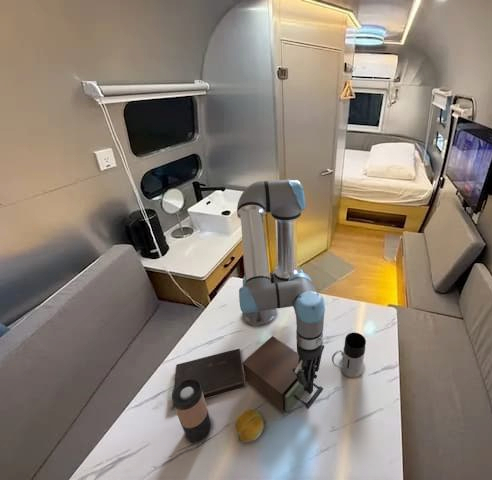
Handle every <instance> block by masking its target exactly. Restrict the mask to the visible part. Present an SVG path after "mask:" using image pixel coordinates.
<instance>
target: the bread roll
mask: <svg viewBox="0 0 492 480" xmlns="http://www.w3.org/2000/svg"><path fill="white" fill-rule="evenodd" d="M234 423H235V424H234V428H235V432H236V434H238V436H239V440H240V441H241V442H243V443H250V442H254V441H257V440H258V438H260V436H261V434H263V433H262V432H263V431H264V425H265V424H264V418H263V416H262V414H261V413H260V412H259V411H258V410H256V409H252V408H251V409H248V410H246V411H243V412H241V414H239V415H238V416H237V418H236V421H235V422H234Z"/></svg>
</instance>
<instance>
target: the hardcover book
mask: <svg viewBox="0 0 492 480" xmlns="http://www.w3.org/2000/svg"><path fill="white" fill-rule="evenodd" d="M175 365H176V366H175V374H174V384H173V385H174V386H173V390H174V389H176V388H177V387H178V386H179V385H180V384H181V382H183V381H185V380H188V379H194V380H197V381H198V382H199V383H200V385H201V389H202V392H203V395H204V398H205V400H206V399H209V398H212V397H215V396H219V395H222V394H225V393H229V392H232V391H235V390H238V389H242V388H245V387H246V386H245V376H244V370H243V364H242V356H241V349H240V348H235V349H232V350H228V351H223V352H219V353H216V354H212V355H208V356H204V357H200V358H196V359H193V360H189V361H185V362H181V363H177V364H175ZM172 407H173V409H175V407H174V404H173V403H172Z"/></svg>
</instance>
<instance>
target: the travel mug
mask: <svg viewBox="0 0 492 480" xmlns="http://www.w3.org/2000/svg"><path fill="white" fill-rule="evenodd" d="M171 401H172V405H173V404H174V407H175V408H174V409H175V412H176V415H177V418H178V420H179V423H180V425H181V428H182V430H183V432H184V434H185V436H186V438H187V440H188V441H189V442H191V443H199V442H202V441H203V440H204V439H206V438H207V437H208V436H209V434H210V432H211V429H212V423H211V418H210V417H211V416H210V413H209V409H208V405H207V402H206V399H205V398H204V395H203V392H202V389H201V385H200V383H199V382H198V381H197V380H194V379H188V380H185V381H183V382H181V384H180V385H179V386H178V387H177V388H176V389H174V388H173V390H172V393H171Z"/></svg>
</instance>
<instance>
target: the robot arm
mask: <svg viewBox="0 0 492 480" xmlns="http://www.w3.org/2000/svg"><path fill="white" fill-rule="evenodd" d="M306 206H307V204H306V196H305V192H304V188H303V184H302V183H301V182H300V181H299V180H297V179H278V180H277V179H276V180H259V181H258V180H257V181H255V182H253V183H251V184H250V185H248V186H247V187H246V188H245V189H244V191H243V192H242V193H241V194H240V197H239V199H238V203H237V206H236V213H237V215H236V216H237V217H238V219H239V220H240V227H241V241H242V254H243V268H244V269H243V270H244V276H243V278H242V286H241V287H239V289H238V300H239V301H238V302H239V309H240V311H241V312H242V319H243V322H244V323H245V324H247V325H248V326H251V327H264V326H266V325H268V324H270V323H271V322H272V321H273V320H274V319H275V317H276V316H277V315H276V313H277V312H276V311H277V310H276V309H285V308H290V307H291V308H292V307H293V309H294V315H295V323H296V324H295V325H296V330H295V332H296V333H295V334H296V335H295V336H296V352H297V353H298V355H299V360H298V363H299V365H298V366H297V367H294V368H293V370H292V371H293V372H295V374H296V377H297V379H298V382H299V383H300V384H302V385H303V387H304V390H305V393H308V394H309V395H312V393H313V392H314V386H313V383H314V381H315V380H316V379H317V377H318V375H317V374H316V373H318V372H319V370H320V366H321V362H322V361H321V360H322V356H323V351H324V350H325V345H324V344H323V341H324V340H323V339H324V325H325V312H326V307H325V298H324V297H323V296H322V295H321V294H320V293H319V292H317V291H316V288H315V285H314V283H313V281H312V279H311V276H309V275H308V274H307V273H304V271H303V269H302V268H301V266H299V264H298V219H300V218H301V216H302V212H303V211H305V210H306ZM267 213H270V216H271V218H273V220H274V221H275V242H276V245H275V246H276V266H275V267H274V269H273V271H272V272H271V269H270V262H269V255H268V246H267V238H266V230H265V223H264V219H265V217H266V214H267Z"/></svg>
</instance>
